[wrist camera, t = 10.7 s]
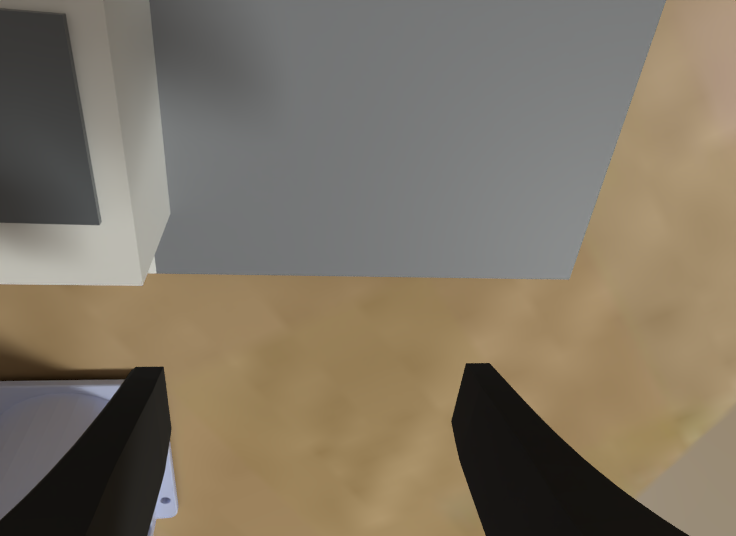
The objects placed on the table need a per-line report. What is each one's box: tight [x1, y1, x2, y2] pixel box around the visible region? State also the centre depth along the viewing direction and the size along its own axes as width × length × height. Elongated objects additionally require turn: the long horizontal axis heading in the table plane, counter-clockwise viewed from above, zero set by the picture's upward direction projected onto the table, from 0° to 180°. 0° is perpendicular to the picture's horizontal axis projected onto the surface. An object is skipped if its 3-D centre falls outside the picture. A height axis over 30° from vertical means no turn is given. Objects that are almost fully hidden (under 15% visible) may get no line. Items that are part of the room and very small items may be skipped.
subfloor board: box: [148, 0, 666, 279], centre depth 18 cm, size 14×26×1 cm, turn 84°
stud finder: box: [0, 0, 170, 286], centre depth 15 cm, size 9×4×5 cm, turn 174°
